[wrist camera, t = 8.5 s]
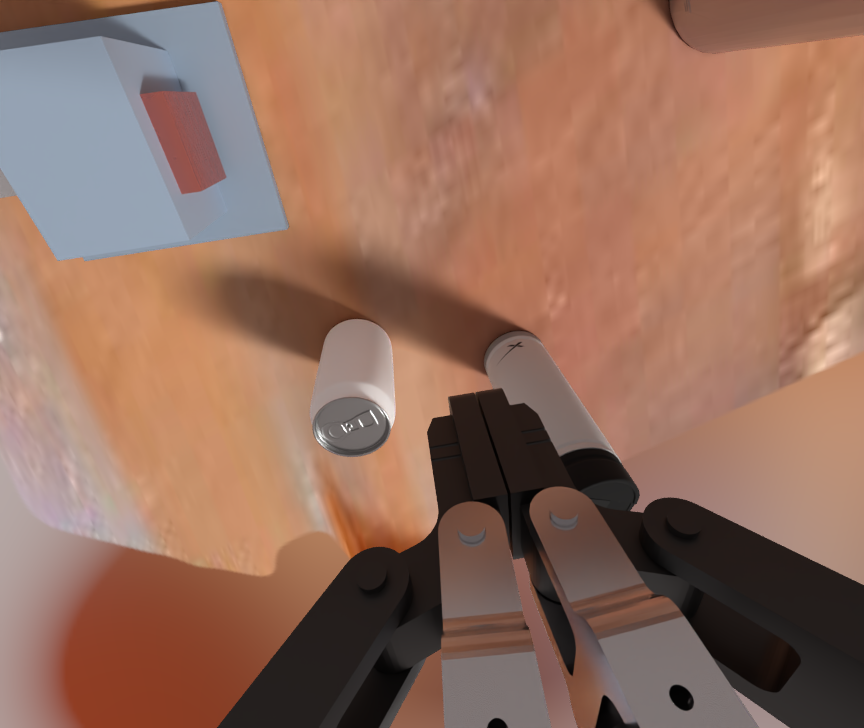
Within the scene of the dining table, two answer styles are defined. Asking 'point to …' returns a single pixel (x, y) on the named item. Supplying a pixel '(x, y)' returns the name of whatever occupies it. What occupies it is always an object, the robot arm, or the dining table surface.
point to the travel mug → (560, 418)
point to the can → (354, 389)
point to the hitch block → (129, 133)
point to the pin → (176, 141)
